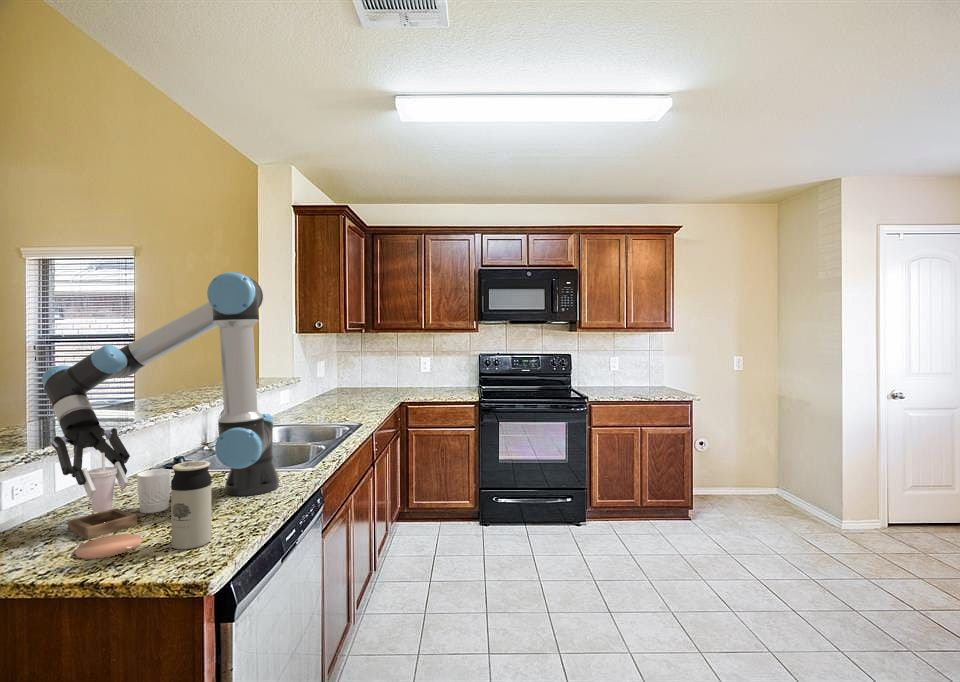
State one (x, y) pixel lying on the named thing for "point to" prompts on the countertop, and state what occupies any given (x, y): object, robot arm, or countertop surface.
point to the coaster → (108, 546)
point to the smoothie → (103, 486)
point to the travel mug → (190, 505)
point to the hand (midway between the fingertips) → (109, 489)
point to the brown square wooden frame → (102, 523)
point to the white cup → (154, 490)
